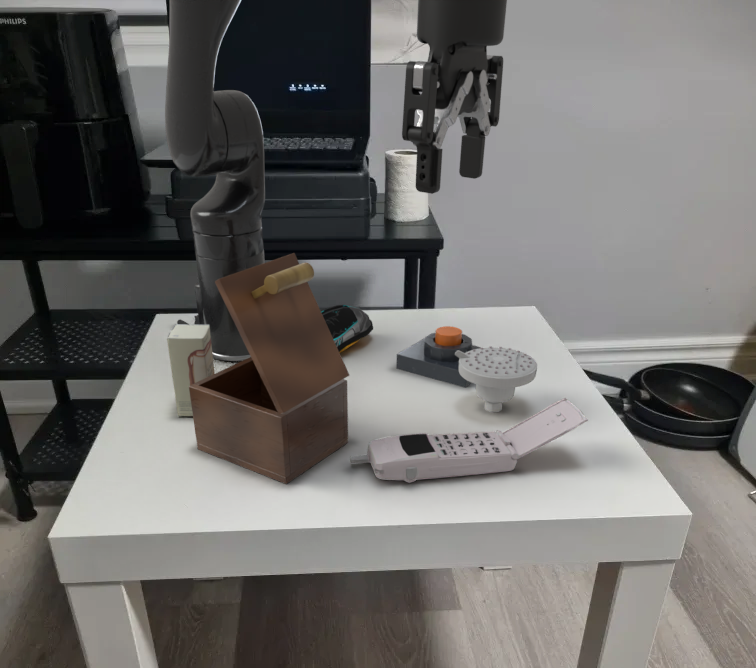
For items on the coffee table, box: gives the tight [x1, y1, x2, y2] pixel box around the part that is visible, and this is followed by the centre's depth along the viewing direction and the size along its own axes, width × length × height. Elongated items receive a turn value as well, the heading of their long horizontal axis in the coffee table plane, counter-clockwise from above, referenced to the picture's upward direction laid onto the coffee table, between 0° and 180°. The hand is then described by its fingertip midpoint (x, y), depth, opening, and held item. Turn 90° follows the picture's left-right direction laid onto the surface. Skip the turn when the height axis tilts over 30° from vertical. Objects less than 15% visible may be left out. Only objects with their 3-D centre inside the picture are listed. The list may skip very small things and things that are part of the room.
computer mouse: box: [320, 304, 374, 354], centre depth 108 cm, size 9×17×6 cm, turn 130°
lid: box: [215, 252, 350, 414], centre depth 75 cm, size 14×11×5 cm
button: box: [434, 325, 463, 346], centre depth 102 cm, size 4×4×2 cm
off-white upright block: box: [166, 323, 216, 417], centre depth 90 cm, size 5×4×10 cm
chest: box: [189, 357, 349, 485], centre depth 83 cm, size 13×11×8 cm
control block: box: [395, 332, 482, 389], centre depth 103 cm, size 11×9×4 cm
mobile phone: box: [349, 397, 589, 484], centre depth 80 cm, size 6×6×25 cm
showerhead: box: [455, 346, 538, 413], centre depth 92 cm, size 9×7×10 cm
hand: (449, 184), depth 72 cm, fingers open, 8 cm apart
